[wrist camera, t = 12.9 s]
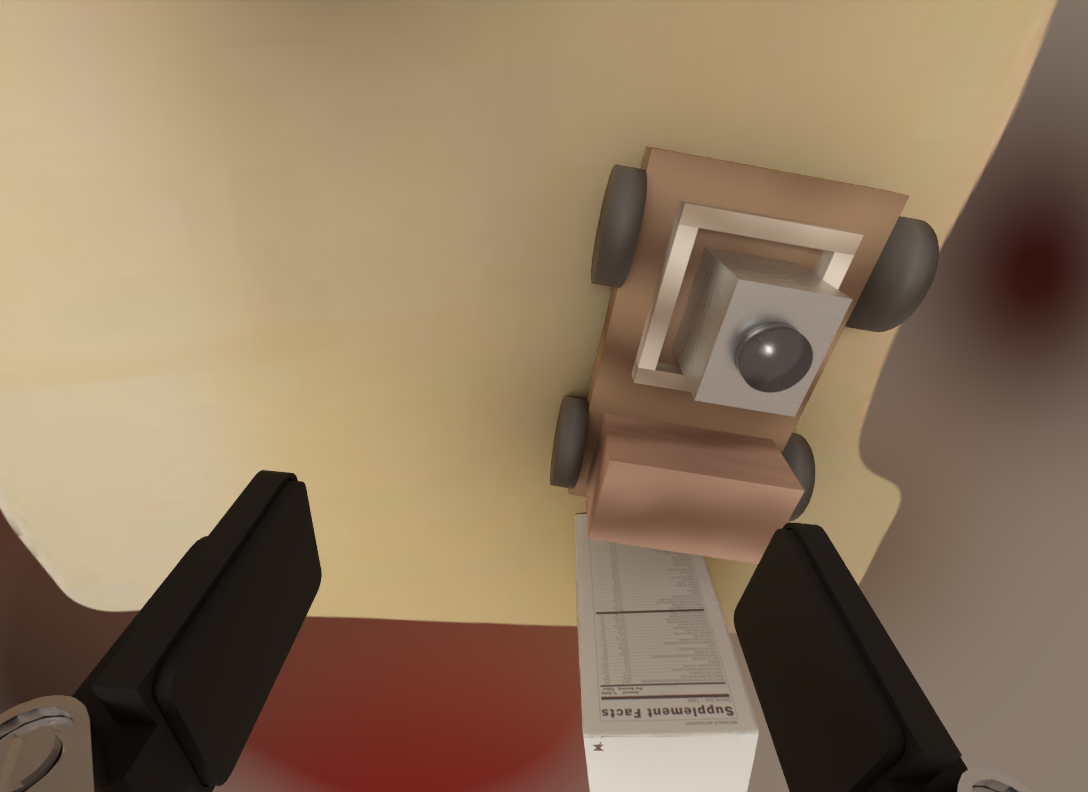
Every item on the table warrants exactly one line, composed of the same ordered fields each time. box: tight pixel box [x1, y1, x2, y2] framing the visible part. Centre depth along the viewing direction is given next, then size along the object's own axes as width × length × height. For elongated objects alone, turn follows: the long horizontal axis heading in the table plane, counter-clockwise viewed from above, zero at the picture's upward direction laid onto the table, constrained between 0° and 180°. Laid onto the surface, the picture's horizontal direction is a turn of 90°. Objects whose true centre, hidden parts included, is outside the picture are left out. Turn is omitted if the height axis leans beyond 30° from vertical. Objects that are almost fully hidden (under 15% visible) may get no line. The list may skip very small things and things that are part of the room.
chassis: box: [550, 146, 939, 564], centre depth 29 cm, size 22×16×8 cm
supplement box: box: [575, 514, 759, 792], centre depth 35 cm, size 10×9×17 cm
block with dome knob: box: [672, 247, 853, 417], centre depth 25 cm, size 6×5×7 cm
